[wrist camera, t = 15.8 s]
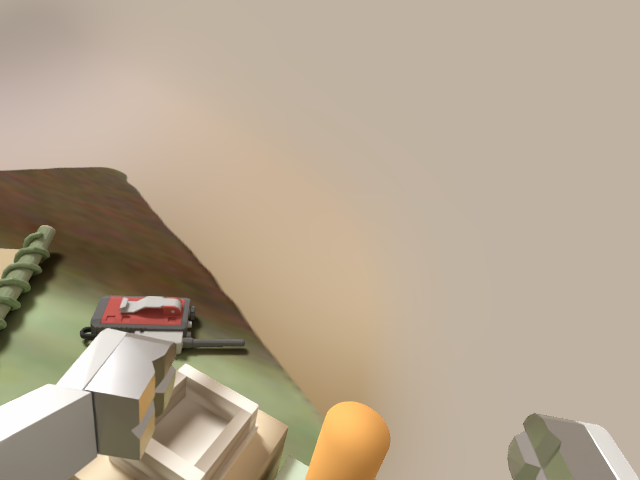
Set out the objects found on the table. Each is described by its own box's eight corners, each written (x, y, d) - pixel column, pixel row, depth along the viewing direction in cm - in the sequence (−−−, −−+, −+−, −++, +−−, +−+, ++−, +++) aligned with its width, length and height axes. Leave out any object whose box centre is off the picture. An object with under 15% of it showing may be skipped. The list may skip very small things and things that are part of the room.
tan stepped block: (275, 479, 39) (295, 399, 34) (190, 621, 29) (199, 538, 24) (179, 419, 42) (183, 338, 37) (74, 526, 32) (59, 436, 27)
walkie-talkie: (74, 356, 47) (244, 356, 53) (70, 328, 45) (247, 331, 51) (95, 309, 55) (242, 313, 60) (93, 283, 53) (245, 289, 58)
